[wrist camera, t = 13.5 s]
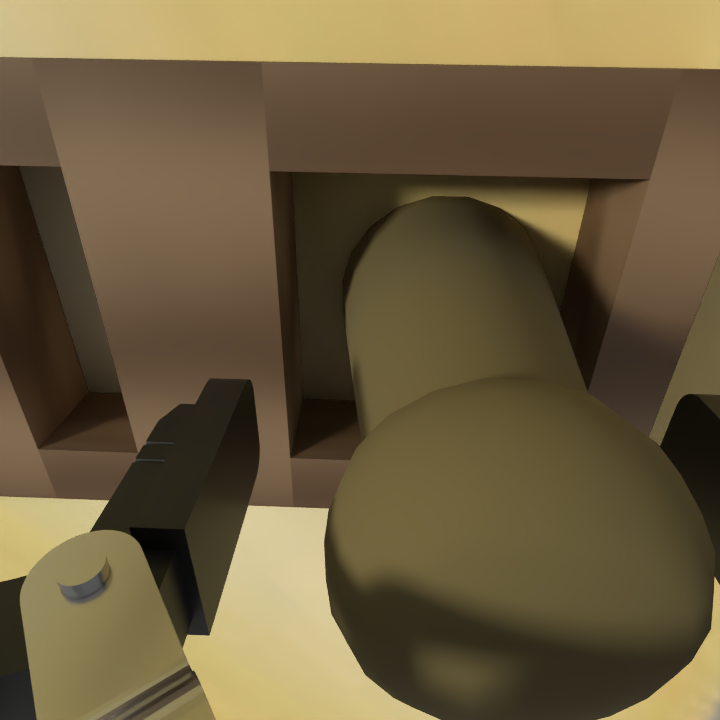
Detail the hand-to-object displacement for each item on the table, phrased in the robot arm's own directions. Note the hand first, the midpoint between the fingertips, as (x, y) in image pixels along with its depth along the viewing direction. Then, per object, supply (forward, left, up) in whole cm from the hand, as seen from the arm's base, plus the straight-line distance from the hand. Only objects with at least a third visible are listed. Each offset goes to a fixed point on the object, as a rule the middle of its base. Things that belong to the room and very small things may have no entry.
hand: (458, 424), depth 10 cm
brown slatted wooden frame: (0, -5, -6) cm, 8 cm away
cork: (0, 0, -7) cm, 7 cm away
